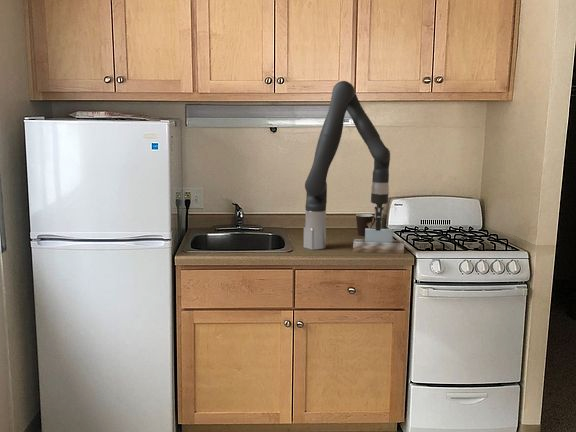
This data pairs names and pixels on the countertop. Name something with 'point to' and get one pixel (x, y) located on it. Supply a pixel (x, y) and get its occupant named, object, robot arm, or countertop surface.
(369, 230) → the blue-gray rectangular block
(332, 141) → the robot arm
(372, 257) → the countertop surface
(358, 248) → the track base
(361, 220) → the coffee mug
